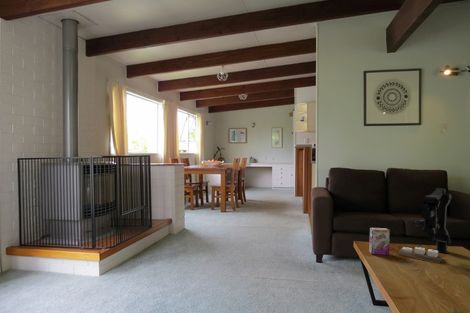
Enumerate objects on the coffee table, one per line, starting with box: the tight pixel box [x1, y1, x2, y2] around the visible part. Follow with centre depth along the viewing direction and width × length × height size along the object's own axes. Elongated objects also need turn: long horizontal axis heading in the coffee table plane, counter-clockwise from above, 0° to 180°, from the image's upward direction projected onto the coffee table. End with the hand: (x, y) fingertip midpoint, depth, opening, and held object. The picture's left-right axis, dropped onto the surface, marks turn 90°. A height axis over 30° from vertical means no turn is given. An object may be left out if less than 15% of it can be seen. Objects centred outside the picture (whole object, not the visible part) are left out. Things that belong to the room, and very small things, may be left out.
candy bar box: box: [368, 227, 391, 256], centre depth 197 cm, size 11×5×16 cm, turn 84°
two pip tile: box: [413, 246, 426, 255], centre depth 191 cm, size 5×5×3 cm
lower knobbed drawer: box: [426, 248, 439, 258], centre depth 187 cm, size 5×5×3 cm
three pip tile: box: [401, 246, 413, 253], centre depth 196 cm, size 5×5×3 cm
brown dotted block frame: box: [398, 247, 443, 264], centre depth 191 cm, size 10×22×2 cm, turn 49°
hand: (430, 241), depth 188 cm, fingers closed
